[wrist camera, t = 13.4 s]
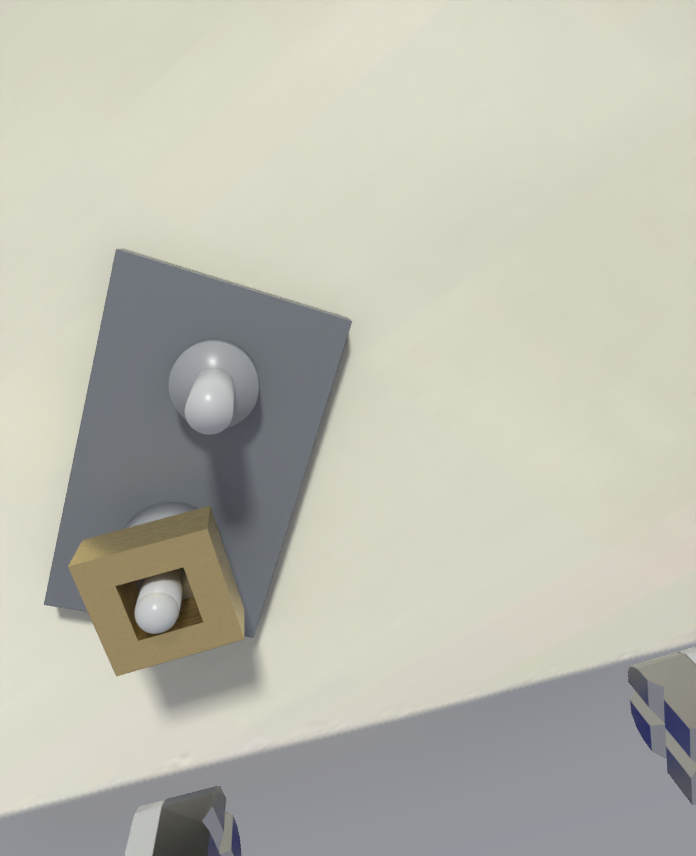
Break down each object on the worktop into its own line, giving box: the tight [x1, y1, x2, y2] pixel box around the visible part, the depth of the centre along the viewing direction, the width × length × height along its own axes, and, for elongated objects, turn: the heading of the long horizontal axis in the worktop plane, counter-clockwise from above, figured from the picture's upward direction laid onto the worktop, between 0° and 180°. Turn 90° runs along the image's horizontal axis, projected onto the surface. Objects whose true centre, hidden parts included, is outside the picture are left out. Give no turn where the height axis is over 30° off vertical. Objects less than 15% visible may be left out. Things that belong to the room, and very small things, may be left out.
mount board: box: [44, 249, 352, 637], centre depth 29 cm, size 12×20×8 cm, turn 162°
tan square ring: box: [68, 506, 244, 676], centre depth 29 cm, size 6×6×2 cm
